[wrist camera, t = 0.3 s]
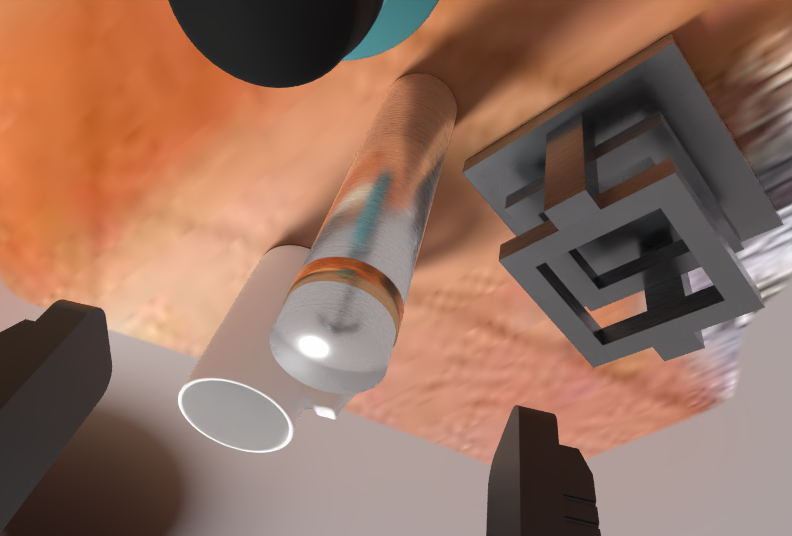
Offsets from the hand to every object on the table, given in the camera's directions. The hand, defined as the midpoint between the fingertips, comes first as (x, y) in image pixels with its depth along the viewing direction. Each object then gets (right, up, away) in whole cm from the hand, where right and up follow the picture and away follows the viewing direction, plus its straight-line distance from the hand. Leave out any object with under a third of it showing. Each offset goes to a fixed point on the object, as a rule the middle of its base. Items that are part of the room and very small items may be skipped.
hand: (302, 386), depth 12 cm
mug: (-3, +1, +32) cm, 32 cm away
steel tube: (+3, +11, +22) cm, 25 cm away
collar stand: (+14, +7, +23) cm, 27 cm away
